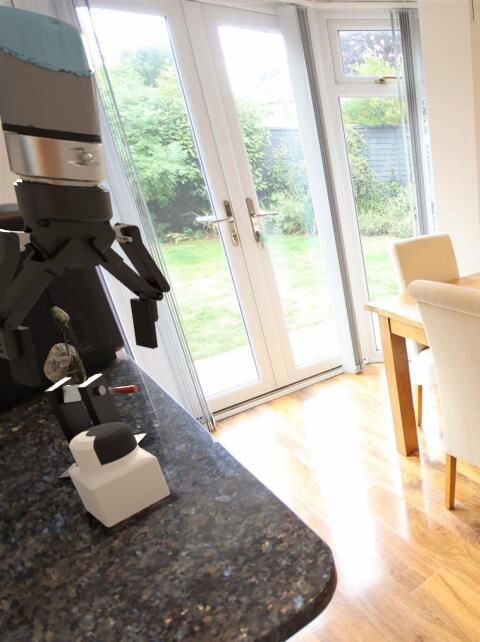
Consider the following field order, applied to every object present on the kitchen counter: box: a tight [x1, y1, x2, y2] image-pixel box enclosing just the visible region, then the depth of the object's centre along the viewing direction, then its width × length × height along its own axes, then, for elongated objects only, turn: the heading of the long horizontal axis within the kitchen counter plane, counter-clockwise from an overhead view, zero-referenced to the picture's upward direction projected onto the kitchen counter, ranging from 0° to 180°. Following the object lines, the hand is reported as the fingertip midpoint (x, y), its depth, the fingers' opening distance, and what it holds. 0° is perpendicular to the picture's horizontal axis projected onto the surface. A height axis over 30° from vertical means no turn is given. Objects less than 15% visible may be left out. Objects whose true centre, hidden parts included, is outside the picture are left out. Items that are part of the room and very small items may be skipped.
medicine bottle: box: [68, 421, 171, 528], centre depth 60 cm, size 7×7×12 cm
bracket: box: [43, 373, 148, 480], centre depth 69 cm, size 10×7×14 cm
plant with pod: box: [43, 306, 88, 409], centre depth 86 cm, size 8×11×20 cm
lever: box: [63, 384, 139, 403], centre depth 71 cm, size 11×5×2 cm, turn 13°
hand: (94, 363), depth 56 cm, fingers open, 13 cm apart
